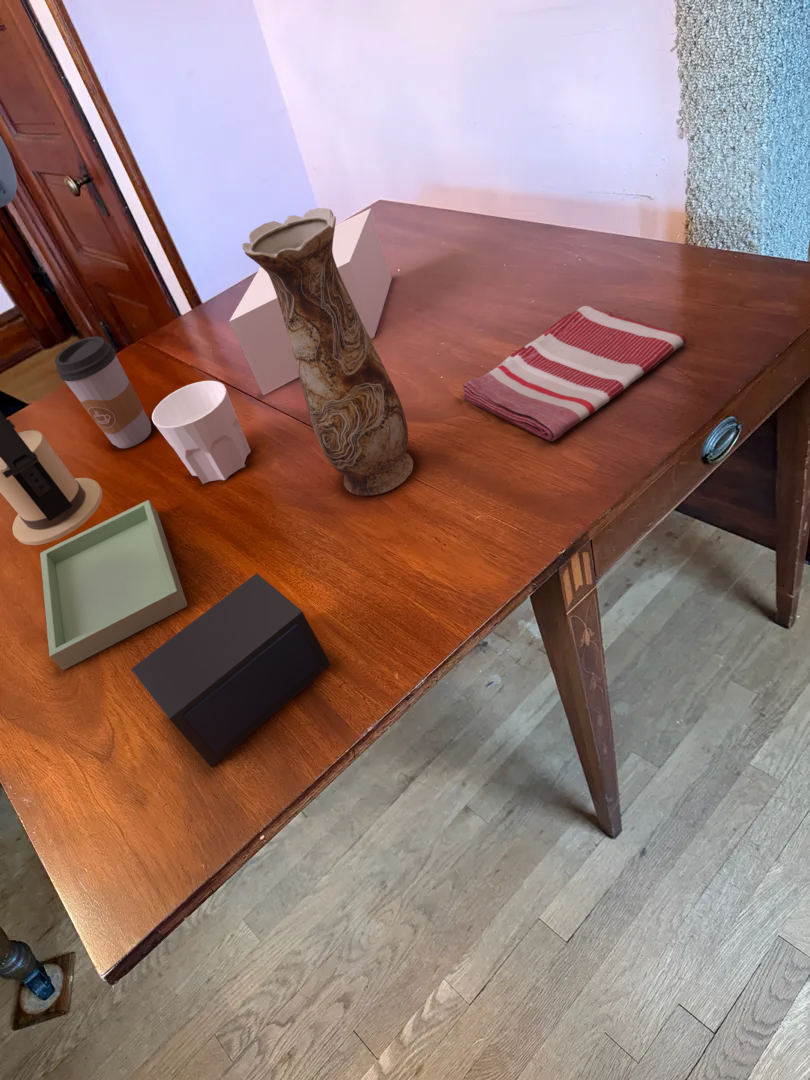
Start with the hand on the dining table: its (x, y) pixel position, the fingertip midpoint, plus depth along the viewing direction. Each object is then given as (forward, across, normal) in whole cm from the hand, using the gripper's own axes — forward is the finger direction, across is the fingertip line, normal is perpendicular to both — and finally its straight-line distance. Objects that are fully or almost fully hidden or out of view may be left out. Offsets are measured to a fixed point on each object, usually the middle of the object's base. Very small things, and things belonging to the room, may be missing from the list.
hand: (48, 499), depth 79 cm
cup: (+14, +9, -21) cm, 26 cm away
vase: (+14, -13, -32) cm, 37 cm away
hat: (+2, 0, 0) cm, 2 cm away
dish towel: (+14, -21, -58) cm, 63 cm away
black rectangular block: (+14, -28, -3) cm, 31 cm away
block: (+14, +22, -50) cm, 57 cm away
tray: (+14, 0, 0) cm, 14 cm away
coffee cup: (+14, +29, -16) cm, 36 cm away
